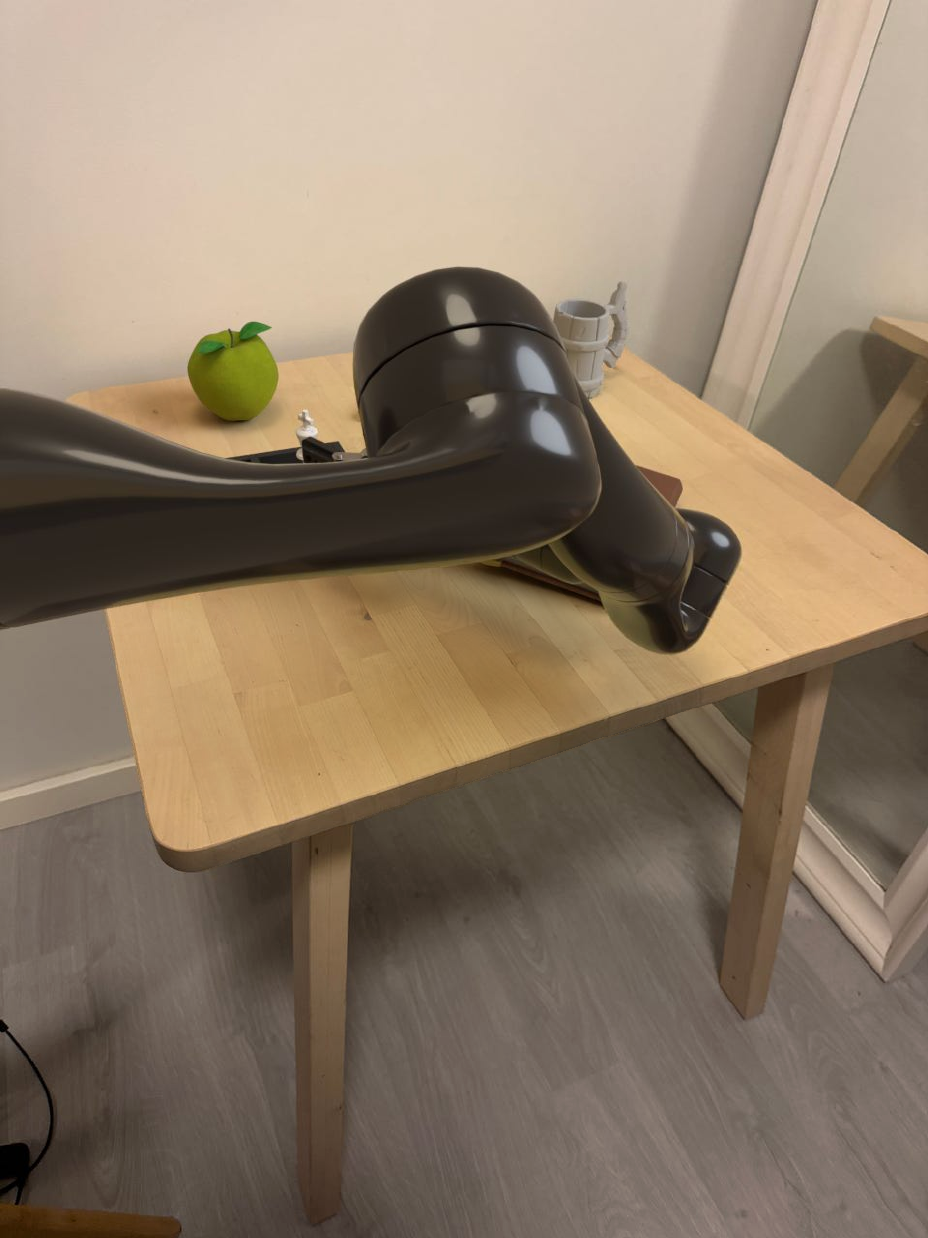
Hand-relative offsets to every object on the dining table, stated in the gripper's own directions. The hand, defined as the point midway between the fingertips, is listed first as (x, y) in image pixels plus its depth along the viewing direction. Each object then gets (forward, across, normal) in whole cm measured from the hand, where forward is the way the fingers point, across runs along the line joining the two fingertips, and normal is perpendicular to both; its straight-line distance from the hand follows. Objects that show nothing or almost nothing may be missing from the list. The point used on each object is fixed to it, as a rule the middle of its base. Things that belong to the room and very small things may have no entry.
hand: (339, 429), depth 79 cm
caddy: (+6, +4, +10) cm, 13 cm away
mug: (-1, -43, +11) cm, 44 cm away
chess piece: (+4, 0, +10) cm, 11 cm away
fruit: (+24, -9, +10) cm, 27 cm away
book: (-17, -16, +11) cm, 26 cm away
